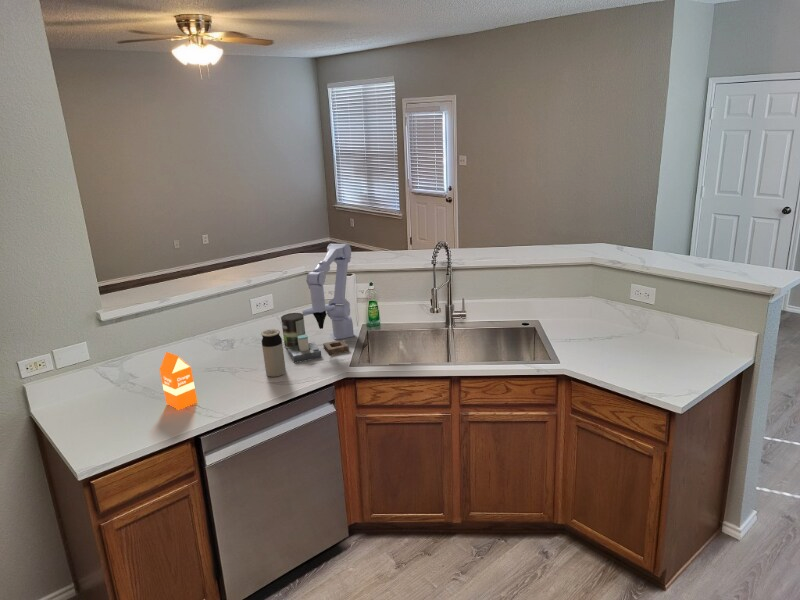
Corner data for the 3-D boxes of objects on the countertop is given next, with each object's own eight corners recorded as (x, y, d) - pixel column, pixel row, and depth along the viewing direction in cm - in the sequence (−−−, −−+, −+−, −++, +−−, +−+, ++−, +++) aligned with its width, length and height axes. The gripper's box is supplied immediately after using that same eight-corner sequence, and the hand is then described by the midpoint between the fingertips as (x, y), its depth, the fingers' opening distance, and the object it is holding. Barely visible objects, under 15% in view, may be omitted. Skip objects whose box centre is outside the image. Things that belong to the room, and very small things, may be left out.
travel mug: (275, 378, 230) (269, 336, 225) (262, 374, 235) (256, 333, 229) (290, 371, 236) (284, 330, 231) (277, 367, 241) (271, 327, 235)
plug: (308, 353, 254) (305, 334, 252) (310, 356, 251) (307, 336, 248) (299, 354, 253) (297, 335, 250) (301, 357, 250) (299, 338, 247)
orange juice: (185, 396, 219) (175, 348, 213) (197, 402, 214) (188, 352, 208) (166, 404, 214) (156, 355, 208) (178, 411, 208) (168, 360, 202)
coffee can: (287, 350, 259) (283, 321, 255) (282, 343, 268) (278, 315, 264) (309, 346, 263) (306, 317, 258) (303, 339, 272) (300, 311, 268)
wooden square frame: (342, 344, 261) (342, 339, 261) (348, 351, 253) (348, 345, 253) (323, 348, 258) (323, 343, 258) (329, 355, 250) (328, 349, 250)
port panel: (314, 348, 259) (314, 341, 258) (321, 357, 249) (320, 350, 248) (288, 353, 255) (287, 346, 254) (294, 362, 245) (293, 355, 244)
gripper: (303, 303, 244) (307, 333, 248) (336, 298, 249) (339, 327, 253) (300, 299, 250) (303, 329, 254) (332, 294, 255) (335, 323, 259)
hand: (321, 328), depth 254 cm, fingers closed
